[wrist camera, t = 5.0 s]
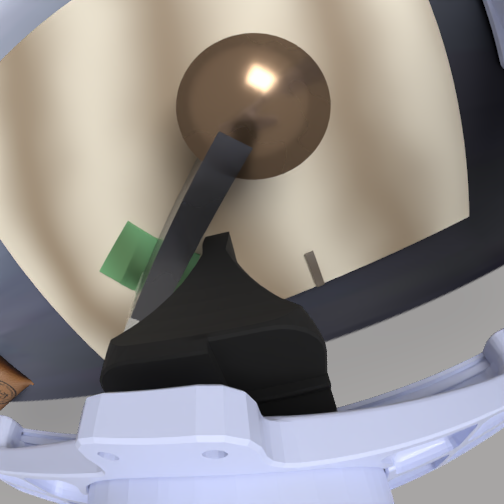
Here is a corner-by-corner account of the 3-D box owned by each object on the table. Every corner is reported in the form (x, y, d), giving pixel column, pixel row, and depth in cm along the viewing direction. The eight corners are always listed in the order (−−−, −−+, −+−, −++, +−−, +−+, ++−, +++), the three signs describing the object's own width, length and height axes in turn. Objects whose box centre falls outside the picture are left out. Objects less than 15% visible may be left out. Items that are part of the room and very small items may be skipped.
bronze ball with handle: (223, 25, 8) (224, 7, 6) (324, 81, 10) (357, 86, 7) (106, 276, 13) (88, 320, 10) (187, 308, 14) (183, 355, 12)
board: (369, -83, 6) (382, -92, 5) (456, 206, 15) (470, 217, 13) (-44, 126, 9) (-59, 133, 8) (109, 346, 17) (105, 362, 16)
